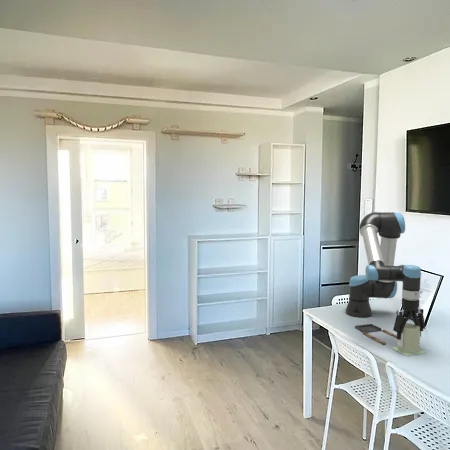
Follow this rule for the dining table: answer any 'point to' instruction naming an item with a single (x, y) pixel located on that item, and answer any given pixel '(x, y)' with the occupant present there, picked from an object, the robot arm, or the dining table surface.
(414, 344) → the can
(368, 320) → the dining table surface
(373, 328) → the tray
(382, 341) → the lane
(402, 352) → the mat
